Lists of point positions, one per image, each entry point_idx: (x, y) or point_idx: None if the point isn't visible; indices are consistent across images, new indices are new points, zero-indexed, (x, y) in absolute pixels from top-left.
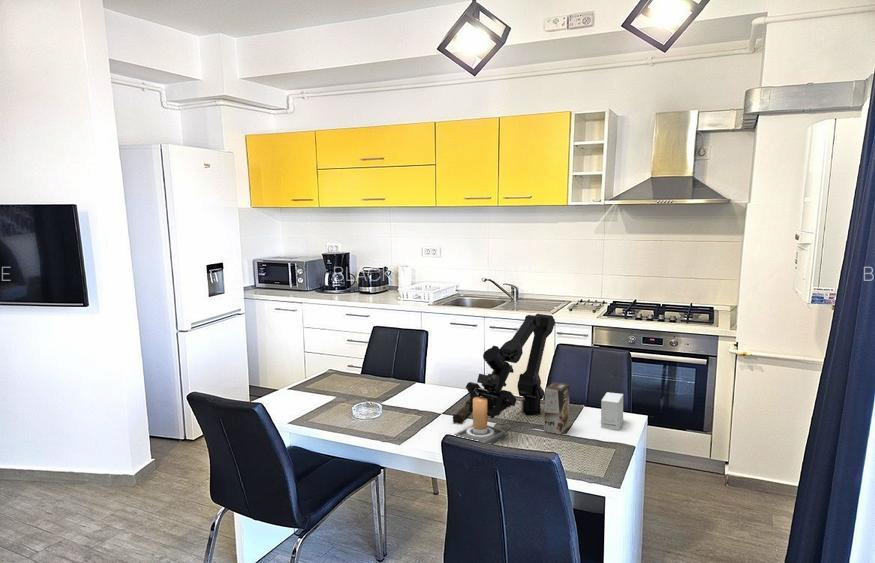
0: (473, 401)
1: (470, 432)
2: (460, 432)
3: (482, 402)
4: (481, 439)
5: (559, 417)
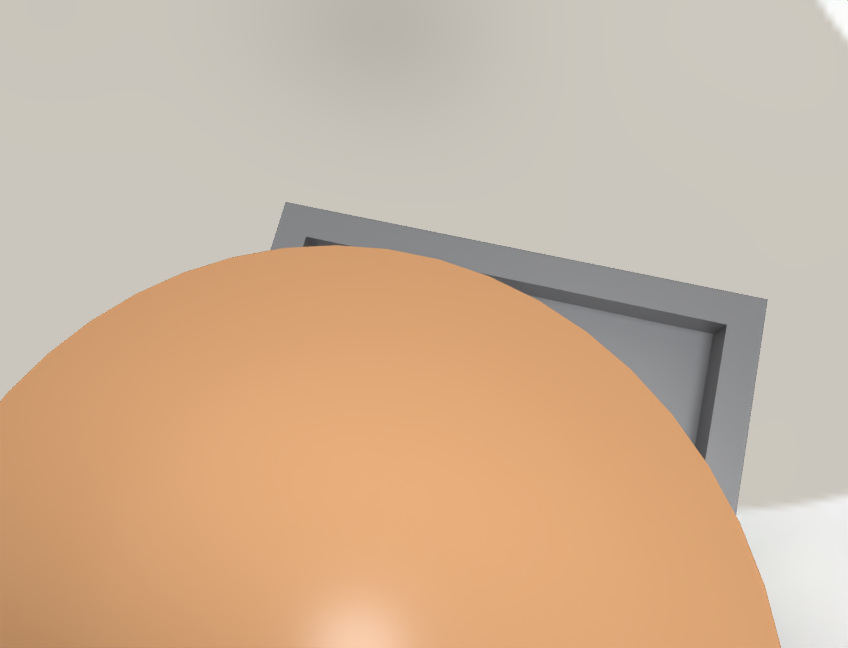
0: (592, 366)
1: None
2: (717, 402)
3: (85, 362)
4: None
5: None
